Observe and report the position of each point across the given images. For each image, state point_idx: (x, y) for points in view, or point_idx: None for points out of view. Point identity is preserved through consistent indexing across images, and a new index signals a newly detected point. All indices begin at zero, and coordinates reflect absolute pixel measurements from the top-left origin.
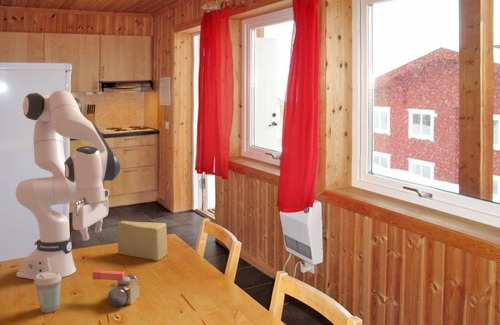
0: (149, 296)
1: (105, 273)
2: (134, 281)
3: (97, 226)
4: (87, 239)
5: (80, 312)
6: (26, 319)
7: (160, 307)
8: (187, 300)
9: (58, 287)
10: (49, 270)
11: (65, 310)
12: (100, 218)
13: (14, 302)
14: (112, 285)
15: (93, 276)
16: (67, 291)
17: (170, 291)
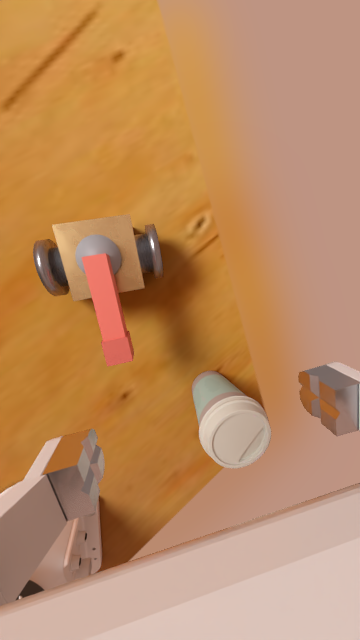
0: (66, 203)
1: (121, 316)
2: (76, 230)
3: (56, 510)
4: (338, 363)
5: (204, 318)
6: (256, 393)
7: (117, 136)
8: (41, 64)
9: (224, 391)
10: (77, 520)
11: (205, 354)
12: (36, 636)
13: (204, 466)
14: (131, 282)
15: (133, 353)
16: (123, 416)
17: (5, 153)
